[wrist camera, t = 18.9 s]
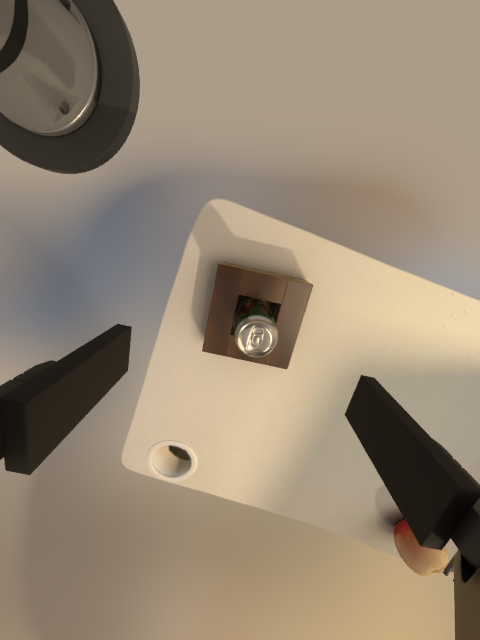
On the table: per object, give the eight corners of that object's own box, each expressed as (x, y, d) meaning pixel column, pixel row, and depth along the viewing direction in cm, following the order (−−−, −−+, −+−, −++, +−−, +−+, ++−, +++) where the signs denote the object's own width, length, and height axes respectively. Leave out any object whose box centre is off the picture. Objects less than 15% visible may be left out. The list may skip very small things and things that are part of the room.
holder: (206, 341, 40) (202, 351, 36) (221, 261, 36) (218, 263, 32) (283, 357, 40) (287, 369, 36) (306, 280, 36) (313, 284, 32)
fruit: (396, 542, 51) (422, 593, 44) (380, 519, 50) (404, 568, 42) (432, 528, 50) (466, 579, 42) (417, 504, 48) (449, 552, 40)
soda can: (236, 325, 39) (231, 357, 27) (240, 293, 37) (236, 314, 26) (267, 328, 39) (275, 363, 27) (272, 298, 37) (283, 320, 26)
